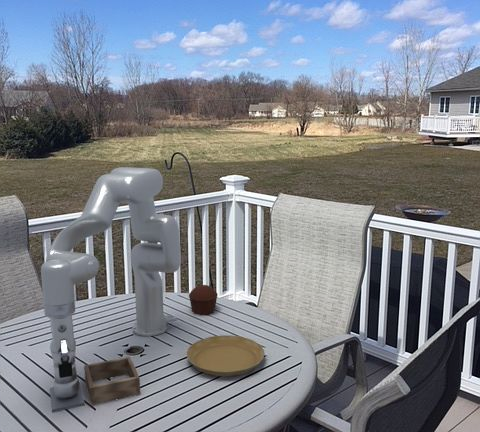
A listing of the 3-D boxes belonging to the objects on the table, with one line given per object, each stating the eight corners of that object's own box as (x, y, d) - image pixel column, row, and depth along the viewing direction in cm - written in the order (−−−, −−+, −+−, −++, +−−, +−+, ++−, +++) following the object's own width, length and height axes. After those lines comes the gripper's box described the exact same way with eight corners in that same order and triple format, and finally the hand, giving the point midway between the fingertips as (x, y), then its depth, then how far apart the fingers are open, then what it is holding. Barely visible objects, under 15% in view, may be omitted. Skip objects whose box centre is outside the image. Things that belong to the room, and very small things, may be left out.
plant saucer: (227, 336, 167) (227, 327, 166) (280, 361, 150) (280, 351, 149) (171, 361, 150) (170, 351, 150) (223, 391, 133) (223, 380, 133)
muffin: (189, 305, 194) (188, 282, 192) (216, 304, 195) (216, 281, 193) (189, 317, 182) (188, 292, 180) (218, 316, 184) (218, 291, 182)
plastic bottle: (85, 390, 132) (80, 322, 128) (68, 404, 126) (63, 332, 122) (65, 386, 134) (60, 319, 130) (48, 399, 128) (42, 329, 124)
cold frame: (130, 371, 143) (129, 356, 142) (140, 394, 132) (139, 377, 131) (85, 381, 138) (84, 365, 137) (91, 405, 126) (89, 388, 125)
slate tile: (80, 384, 137) (79, 381, 136) (84, 404, 127) (84, 402, 127) (49, 390, 133) (49, 388, 133) (52, 412, 123) (51, 409, 123)
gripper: (78, 317, 119) (82, 380, 122) (71, 294, 134) (76, 351, 138) (45, 322, 116) (51, 387, 119) (42, 298, 131) (47, 356, 135)
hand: (64, 367), depth 128 cm, fingers open, 9 cm apart
